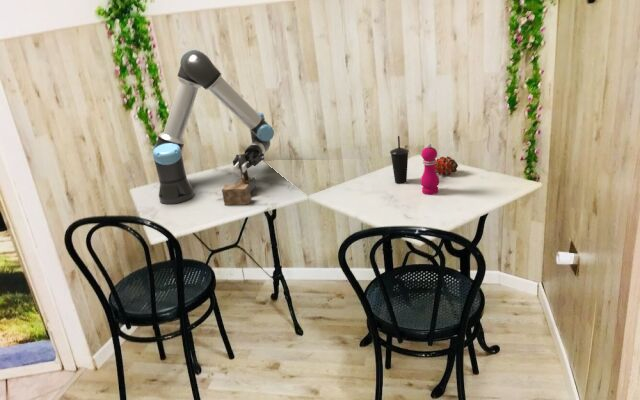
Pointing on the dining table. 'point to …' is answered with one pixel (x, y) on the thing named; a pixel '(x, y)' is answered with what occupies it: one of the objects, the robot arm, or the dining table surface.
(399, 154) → the drinking cup
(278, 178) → the dining table surface
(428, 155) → the pepper mill
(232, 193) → the socket block
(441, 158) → the pine cone
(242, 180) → the mallet
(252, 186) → the channel
